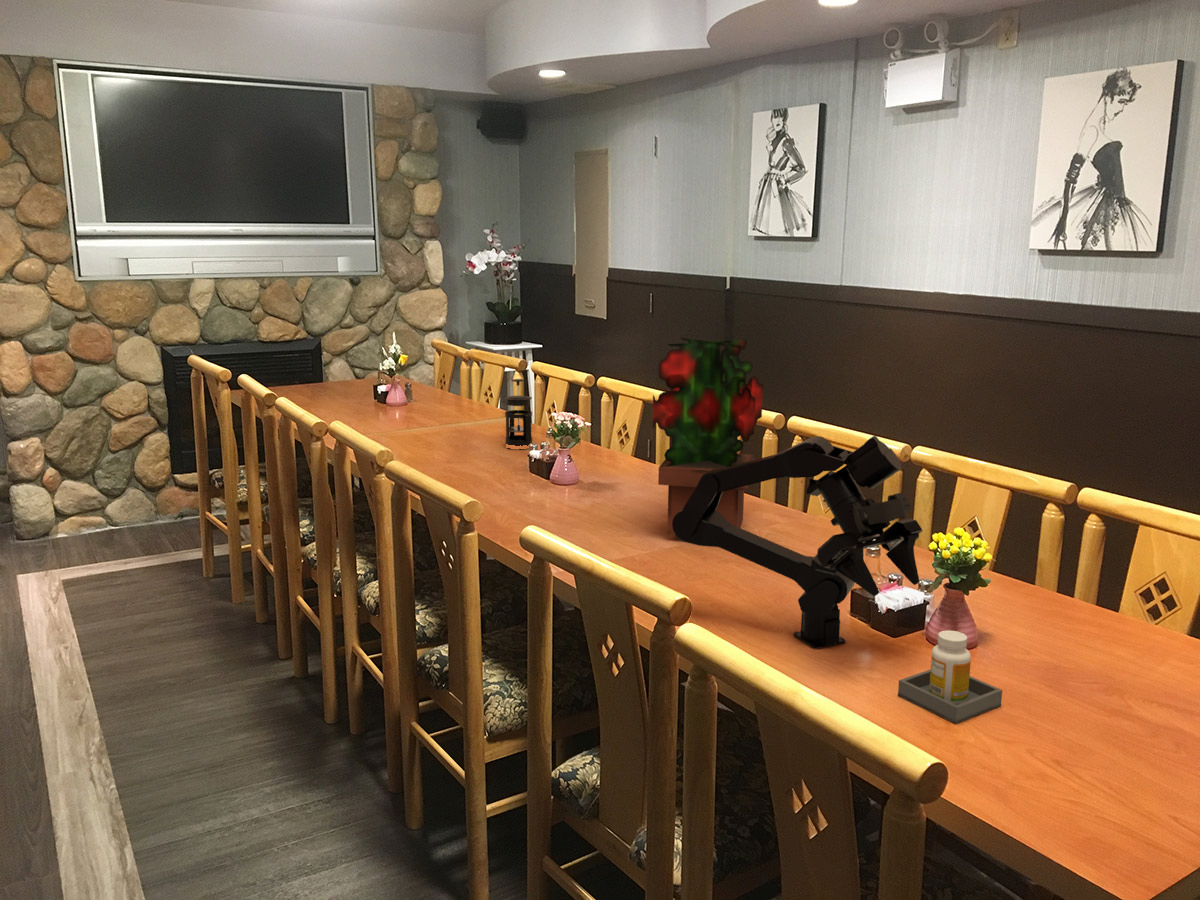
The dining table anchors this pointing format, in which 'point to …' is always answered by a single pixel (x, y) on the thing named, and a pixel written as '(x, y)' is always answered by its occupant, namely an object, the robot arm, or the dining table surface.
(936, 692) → the supplement bottle
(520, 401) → the french press
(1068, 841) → the dining table surface
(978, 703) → the charcoal tray
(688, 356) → the potted plant
